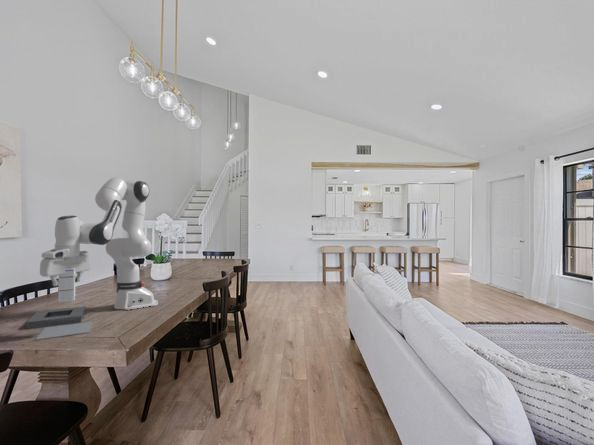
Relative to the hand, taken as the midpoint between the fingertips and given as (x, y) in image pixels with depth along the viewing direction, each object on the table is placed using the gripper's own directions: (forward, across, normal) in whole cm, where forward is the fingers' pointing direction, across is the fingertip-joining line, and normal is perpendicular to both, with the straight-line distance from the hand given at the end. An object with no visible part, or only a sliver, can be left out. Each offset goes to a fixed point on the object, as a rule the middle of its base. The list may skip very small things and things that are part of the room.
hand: (67, 283), depth 135 cm
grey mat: (+21, 0, 0) cm, 21 cm away
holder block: (+21, -11, -19) cm, 30 cm away
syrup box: (+8, 0, 0) cm, 8 cm away
